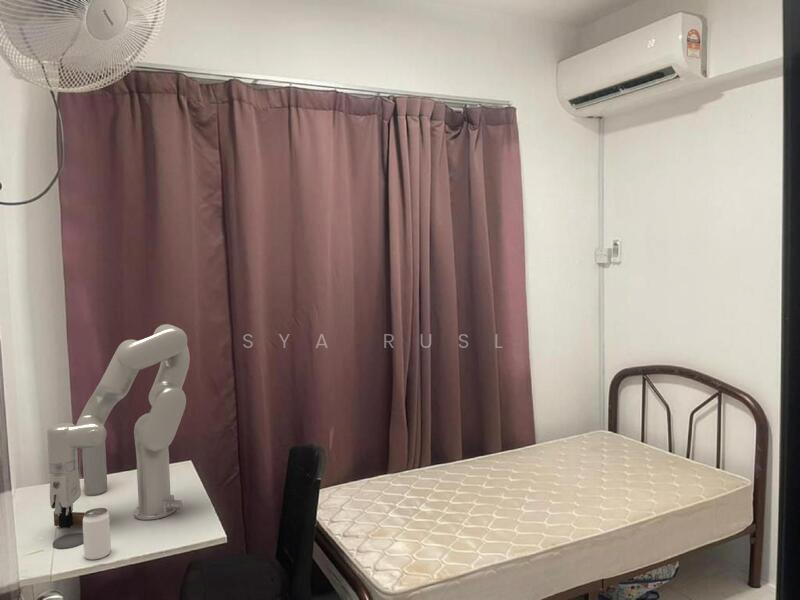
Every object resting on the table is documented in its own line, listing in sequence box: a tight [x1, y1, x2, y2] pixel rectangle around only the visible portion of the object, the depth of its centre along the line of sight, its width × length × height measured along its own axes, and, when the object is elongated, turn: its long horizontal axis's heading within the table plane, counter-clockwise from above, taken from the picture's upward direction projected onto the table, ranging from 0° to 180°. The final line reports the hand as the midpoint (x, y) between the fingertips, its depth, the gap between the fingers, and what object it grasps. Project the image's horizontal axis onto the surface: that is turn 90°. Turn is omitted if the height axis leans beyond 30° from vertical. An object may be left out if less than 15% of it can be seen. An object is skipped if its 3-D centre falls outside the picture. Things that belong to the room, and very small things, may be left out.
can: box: [82, 507, 112, 561], centre depth 165 cm, size 6×6×12 cm
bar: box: [53, 510, 84, 527], centre depth 183 cm, size 4×11×4 cm, turn 84°
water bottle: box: [78, 424, 108, 496], centre depth 210 cm, size 9×8×25 cm
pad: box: [52, 532, 84, 550], centre depth 174 cm, size 9×9×1 cm
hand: (65, 526), depth 180 cm, fingers closed
